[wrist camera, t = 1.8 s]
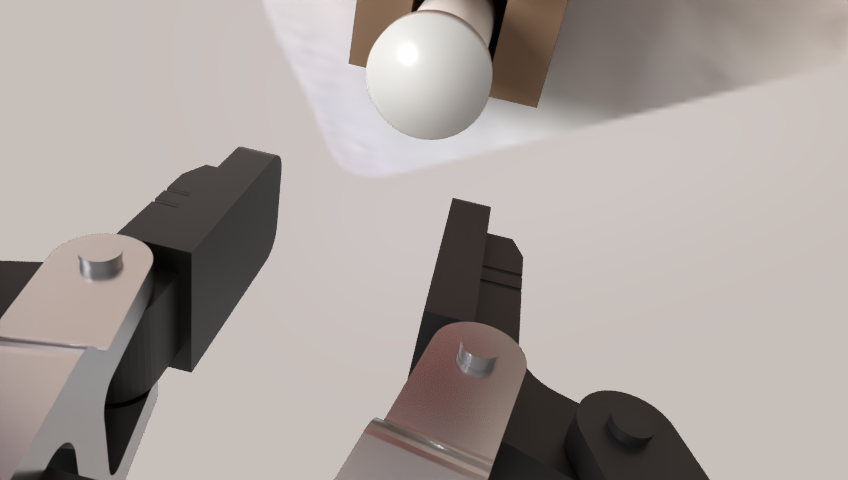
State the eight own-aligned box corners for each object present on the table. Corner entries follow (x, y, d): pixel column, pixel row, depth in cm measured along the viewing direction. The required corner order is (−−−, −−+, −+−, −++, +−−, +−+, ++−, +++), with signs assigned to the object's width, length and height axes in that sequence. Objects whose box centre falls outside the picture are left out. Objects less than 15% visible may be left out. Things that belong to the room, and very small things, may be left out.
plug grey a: (515, -21, 26) (504, 31, 19) (492, 71, 28) (474, 152, 21) (422, -42, 27) (375, 1, 19) (406, 51, 29) (358, 124, 21)
